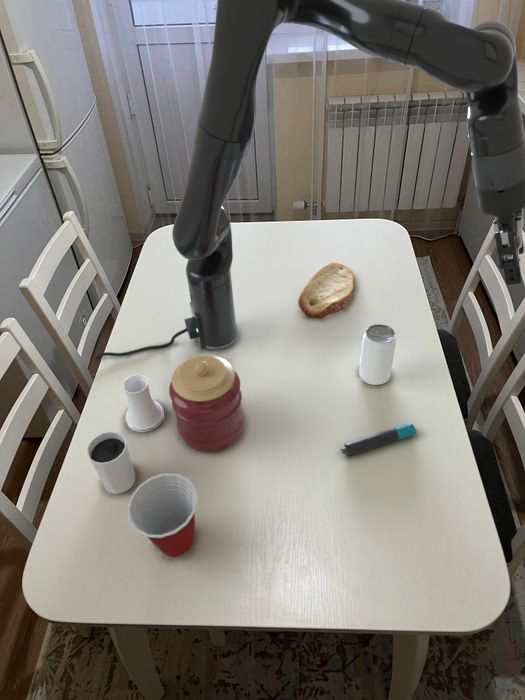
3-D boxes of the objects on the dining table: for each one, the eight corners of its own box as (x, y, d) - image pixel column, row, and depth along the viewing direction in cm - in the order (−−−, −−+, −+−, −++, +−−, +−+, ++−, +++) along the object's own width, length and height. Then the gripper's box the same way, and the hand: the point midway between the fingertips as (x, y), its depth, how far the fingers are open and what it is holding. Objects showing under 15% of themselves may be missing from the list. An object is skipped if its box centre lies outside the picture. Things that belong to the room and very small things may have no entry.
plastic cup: (144, 514, 94) (129, 475, 85) (206, 507, 94) (197, 468, 86) (139, 576, 86) (122, 539, 78) (207, 569, 86) (197, 532, 78)
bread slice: (342, 265, 144) (342, 253, 142) (375, 303, 132) (377, 291, 129) (279, 281, 140) (279, 269, 138) (307, 323, 128) (308, 311, 125)
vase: (147, 437, 106) (137, 404, 99) (118, 422, 109) (106, 389, 102) (171, 411, 110) (163, 378, 103) (143, 398, 113) (133, 364, 106)
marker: (344, 459, 100) (345, 453, 98) (338, 449, 101) (340, 442, 100) (414, 437, 103) (417, 430, 101) (408, 427, 104) (410, 420, 103)
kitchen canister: (253, 409, 110) (248, 345, 97) (230, 460, 101) (221, 398, 89) (195, 395, 113) (182, 332, 101) (167, 444, 104) (150, 381, 92)
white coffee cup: (106, 464, 101) (92, 431, 95) (141, 464, 101) (129, 431, 94) (97, 496, 97) (81, 463, 90) (134, 496, 96) (121, 463, 89)
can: (389, 388, 112) (396, 345, 104) (357, 384, 113) (362, 342, 105) (390, 366, 117) (397, 323, 108) (360, 362, 118) (364, 320, 110)
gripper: (479, 160, 86) (494, 248, 94) (469, 203, 76) (486, 296, 85) (532, 148, 82) (542, 241, 91) (528, 192, 72) (540, 291, 81)
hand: (515, 267), depth 88 cm, fingers open, 8 cm apart
